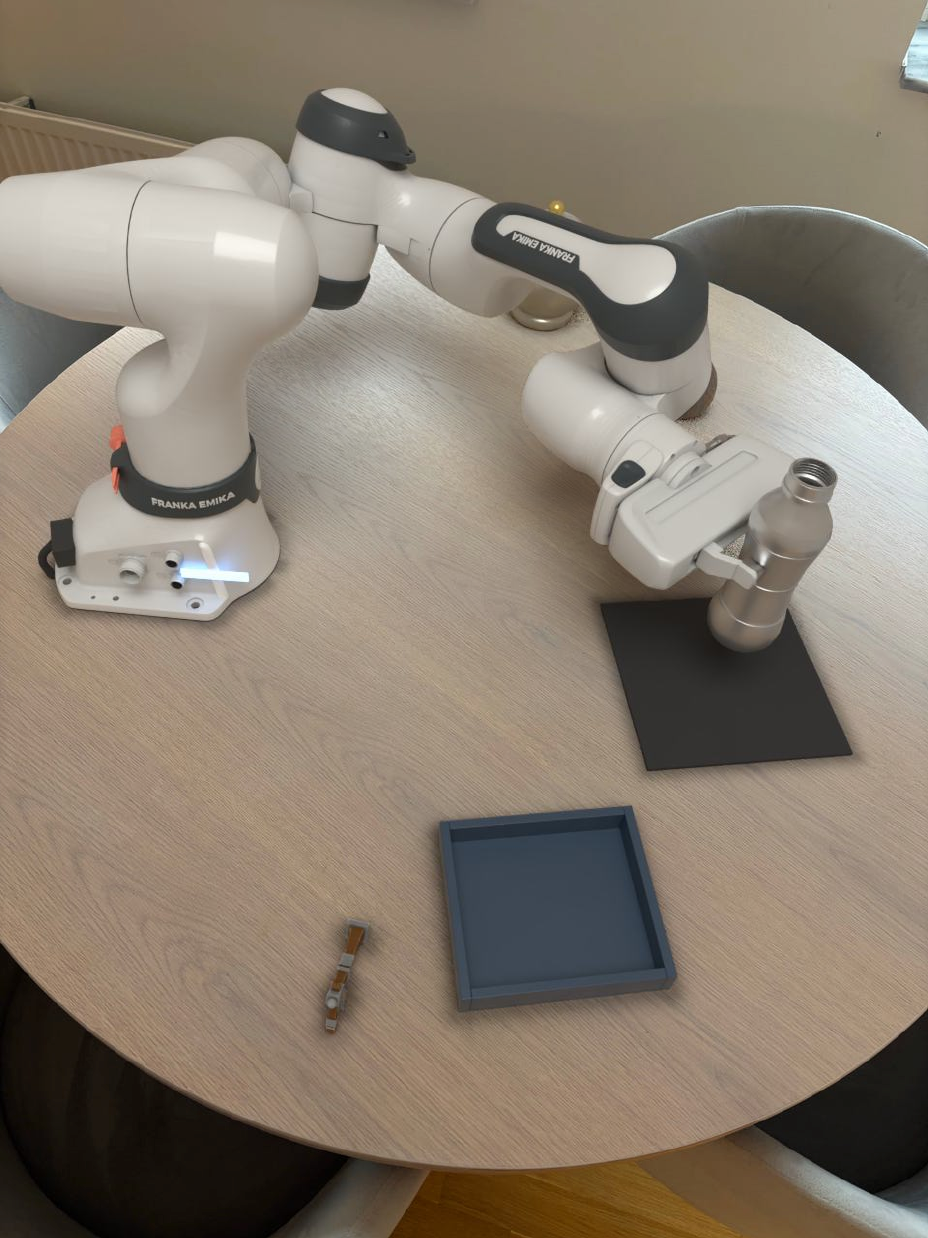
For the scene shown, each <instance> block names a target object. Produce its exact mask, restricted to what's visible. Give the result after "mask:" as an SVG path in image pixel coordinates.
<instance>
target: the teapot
mask: <svg viewBox="0 0 928 1238" xmlns="http://www.w3.org/2000/svg"><path fill="white" fill-rule="evenodd" d="M543 210H546V211H549V212H552V213H555V214H558V215H560V216H563V217H566V218H569V219H571V220H574V221H577V222H580V223H583V224H585V222H584V221H582V220H581V219H580V218H579V217H577V216H576V215H574V214H572V213H570V212H567V211H565V205H564V203H563V202H562V201H560V200H557V199H556V200H552V201H551V203H549V205H548V208H544V209H543ZM579 306H580V305H579V304H578V303H577V302H576V301H574V300H573V299H570V298H568V297H566V296H564V295H561V294H559V293H557V292H554V291H552V290H550V289H547V288H545V287H543V286H541V285H538V284H536V285H535V286H534V288H533V289H532V291H531V292H530V293H529V295H528V296H527V297H526V298H525V299H524V300H523V301H522V302H521V303H520V304H519V305H518V306H517V307H515V308H514V309H512V310H511V311H510V313H511V315H512V317H513V318H514V320H515V321H517V322H518V323H519V324H521V325H522V326H524V327H526V328H529V329H531V330H532V329H533V330H537V331H554V330H558V329H561V328H563V327H565V326H566V325H568V324H569V323H570V321H571V320H572V318H573V316H574V310H575V309H578V307H579Z"/></svg>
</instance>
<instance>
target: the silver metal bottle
mask: <svg viewBox="0 0 928 1238" xmlns="http://www.w3.org/2000/svg"><path fill="white" fill-rule="evenodd" d="M795 459H796V460H795V461H793V462H792V464H791V465H790V467H789V470H788V472H787V473H786V475H785V476H784V478H783V480H782V486H780V487H777V488H775V489H773V490H771V491H769V492H767V493H766V494H764V495H763V496H762V497H761V498H760V499H759V500H758V501H757V502H756V503H755V505H754V506H753V509H752V511H751V514H750V517H749V521H748V526H747V530H746V534H744V539H743V542H742V545H741V548H740V550H739V554H738V557H737V559H739V560H742V561H743V560H745V559H746V558H748V557H749V558H751V559H752V560H754V561H755V563H756V564H759V565H760V566H762V567H763V569H764V574H763V575H762V577H761V580H760V581H759V582H758V583H757V584H755V585H754V586H753V587H751V588H750V589H745V588H743V587H742V586H741V585H739V584H738V583H737V582H735V581H734V580H733V579H727V578H725V581H724V583H723V584H722V585H721V586H720V587H719V588H718V589H717V591H716V592H715V594H714V595H713V596H712V597H713V598H712V600H711V602H710V604H709V609H708V615H707V623H708V626H709V629H710V631H711V633H712V634H713V636H714V637H715V639H716V640H717V641H718V642H720V643H721V644H722V645H723V646H725V647H727V648H729V649H731V650H734V651H738V652H745V653H747V652H755V651H759V650H762V649H764V648H766V647H768V646H769V645H770V644H771V643H772V642H773V641H774V640H775V639H776V638H777V636H778V635H779V633H780V631H781V628H782V625H783V622H784V619H785V614H786V609H787V607H789V604H790V602H791V600H792V596H793V594H794V592H795V589H796V588H797V586H798V585H799V583H800V581H801V580H802V579H803V576H805V574H806V572H807V570H808V569H809V568H810V567H811V565H812V564H813V563H814V562H815V560H816V559H817V558H818V557H819V556H820V555H821V553H822V551H824V549H825V548H826V546H827V545H828V543H830V540H831V539H832V535H833V530H834V519H833V516H832V513H831V512H832V511H831V509H830V506H829V503H830V501H831V500H832V498H833V495H834V490H835V488H836V486H837V484H838V480H839V476H838V473H837V471H836V470H835V468H833V467H832V466H831V465H830V464H829V463H827V462H825V461H823V460H822V459H821V460H820V459H818V458H815V457H807V456H806V457H798V458H795Z"/></svg>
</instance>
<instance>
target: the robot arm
mask: <svg viewBox="0 0 928 1238" xmlns="http://www.w3.org/2000/svg"><path fill="white" fill-rule="evenodd" d="M295 128H296V130H297V131H296V134H295V136H294V137H295V138H294V141H293V144H292V148H291V151H290V152H291V153H290V155H289V159H288V163H287V166H286V164H285V162H284V161H283V159H282V158H281V157H280V155H279V154H278V153H277V152H276V151H274V150H273V148H271V147H270V146H269V145H267V144H266V143H263V142H261V141H259V140H257V139H253V138H250V137H243V136H221V137H216V138H211V139H209V140H205V141H202V142H200V143H198V144H196V145H194V146H192V147H190V148H187V149H186V150H184V151H181V152H179V153H177V154H174V155H173V156H169V157H158V158H148V159H147V158H146V159H137V160H130V161H128V160H127V161H122V162H114V163H108V164H101V165H96V166H91V167H86V168H85V167H84V168H79V169H70V170H61V171H52V172H51V171H49V172H40V173H39V172H38V173H27V174H18V175H11V176H9V177H6V178H5V179H4V180H3V181H2V182H0V288H1V289H2V291H3V292H4V293H5V294H6V295H7V296H8V297H9V298H10V299H12V300H13V301H15V302H17V303H20V304H22V305H25V306H28V307H31V308H34V309H36V310H40V311H41V312H44V313H49V314H52V315H55V316H58V317H62V318H65V319H68V320H71V321H77V322H87V323H93V324H103V325H111V326H119V327H125V328H126V327H127V328H128V327H129V328H136V329H144V330H150V331H153V332H157V333H159V334H161V336H162V337H163V338H161V339H159V340H156V341H155V342H152V343H150V344H148V345H147V346H145V347H143V348H141V349H140V350H139V351H138V352H137V353H135V354H134V355H132V356H131V357H130V358H129V359H128V361H126V362H125V363H124V365H123V366H122V368H121V370H120V372H119V374H118V375H117V376H118V377H117V379H116V384H115V388H114V389H115V390H114V401H115V405H116V408H117V411H118V417H119V419H120V423H121V424H119V425H114V426H113V427H112V429H111V430H110V440H109V442H108V444H109V447H110V448H111V450H113V452H112V453H111V456H110V460H109V466H110V471H111V472H109V473H107V474H106V475H104V476H103V477H101V478H99V479H97V480H95V481H93V482H91V483H90V484H89V485H88V486H87V488H85V490H84V491H83V492H82V495H81V496H80V498H79V500H78V502H77V504H76V508H75V510H74V515H73V516H72V517H68V518H63V519H56V520H50V521H49V526H50V527H49V528H50V540H48V542H47V543H46V544H45V545H44V546H42V548H41V549H40V550H39V552H38V555H37V562H38V565H39V567H40V568H41V570H42V571H43V572H44V573H45V575H46V576H47V577H48V578H49V579H50V578H55V583H56V589H57V591H58V594H59V596H60V599H61V600H62V601H63V603H64V605H66V606H67V607H68V608H70V609H71V608H72V609H76V610H87V611H95V612H106V613H116V614H117V613H118V614H130V615H137V616H138V615H139V616H147V617H150V616H151V617H159V618H169V619H182V620H191V621H202V622H208V621H213V620H215V619H216V618H218V617H220V616H221V615H222V614H223V613H224V612H225V611H226V610H227V608H228V607H229V606H230V605H231V604H232V602H234V601H236V599H238V598H240V597H242V596H244V595H246V594H248V593H250V592H252V591H253V590H255V589H256V588H258V587H259V586H260V585H261V584H262V583H264V582H265V581H266V580H267V578H268V577H270V575H271V574H272V572H273V571H274V570H275V568H276V566H277V564H278V561H279V558H280V553H281V544H280V543H281V542H280V539H279V536H278V533H277V531H276V530H275V527H273V525H272V523H271V521H270V518H269V516H268V514H267V512H266V509H265V506H264V501H263V499H262V496H261V489H262V477H261V476H262V475H261V467H260V460H259V459H260V458H259V453H258V451H257V447H256V443H255V439H254V437H253V435H252V433H251V431H250V428H249V419H248V404H247V402H248V400H247V399H248V398H247V383H248V378H249V375H250V372H251V369H252V367H253V365H254V363H255V362H256V360H257V359H258V357H259V356H260V355H261V354H262V353H263V352H264V351H265V350H266V349H267V348H269V346H271V345H272V344H273V343H275V342H277V341H279V340H280V339H282V338H284V337H286V336H289V335H290V334H291V333H292V332H293V331H295V330H296V329H297V328H298V327H299V326H300V324H302V322H303V321H304V320H305V318H306V317H307V316H308V313H309V312H310V310H311V309H312V308H313V309H317V310H326V311H344V310H347V309H349V308H351V307H354V306H355V305H357V304H358V303H359V302H360V301H361V299H362V297H363V296H364V293H365V292H366V290H367V288H368V285H369V283H370V280H371V273H370V271H371V268H372V266H373V263H374V261H375V257H376V255H377V252H378V248H379V245H383V246H384V248H385V250H386V251H387V253H388V254H389V256H390V257H391V258H392V259H393V260H394V261H395V262H396V263H397V264H398V266H400V267H401V268H402V269H403V270H404V271H405V272H407V273H408V274H409V275H410V276H411V277H412V278H413V279H415V280H416V281H418V283H420V284H421V285H422V286H423V287H425V288H426V289H428V290H429V291H431V292H432V293H434V294H435V295H437V296H438V297H440V298H441V299H443V300H444V301H447V302H448V303H450V304H451V305H453V306H454V307H456V308H458V309H460V310H462V311H465V312H466V313H470V314H472V315H475V316H479V317H483V318H486V319H491V318H496V317H499V316H503V315H505V314H508V313H509V312H511V310H512V309H514V308H515V307H517V306H518V305H519V304H520V303H521V302H522V301H523V300H524V299H525V298H526V297H527V296H528V295H529V293H530V292H531V291H532V289H533V288H534V286H535V285H536V284H538V285H541V286H543V287H545V288H547V289H550V290H552V291H554V292H557V293H559V294H561V295H564V296H566V297H568V298H570V299H573V300H574V301H576V302H577V303H578V304H579V306H580V307H581V308H582V309H583V310H584V312H585V313H586V315H587V317H588V318H589V320H590V322H591V324H592V325H593V327H594V330H595V332H596V333H597V336H598V339H599V341H598V342H595V343H593V344H590V345H587V346H585V347H581V348H578V349H574V350H571V351H570V350H569V351H550V352H548V353H546V354H544V355H543V356H542V357H540V359H538V361H537V362H536V363H535V364H534V365H533V367H532V368H531V370H530V372H529V373H528V375H527V377H526V380H525V382H524V384H523V387H522V388H523V389H522V393H521V398H520V409H521V415H522V418H523V421H524V424H525V426H526V427H527V429H528V431H530V433H531V434H532V435H533V436H534V437H535V438H536V439H537V440H538V441H539V442H540V443H541V444H542V445H543V446H544V447H545V448H546V449H547V450H549V451H550V452H551V453H552V454H553V455H555V457H557V458H558V459H559V460H560V461H562V462H563V463H564V464H566V465H567V466H568V467H570V468H571V469H572V470H574V471H576V472H579V473H581V474H585V475H586V476H588V477H590V478H591V479H592V480H593V481H594V482H595V483H596V485H597V487H598V488H599V493H598V495H597V498H596V502H595V505H594V508H593V513H592V518H591V522H590V528H589V529H590V530H589V536H590V537H591V539H592V540H593V541H594V542H596V543H597V544H599V545H600V546H601V545H602V546H608V552H609V553H610V555H611V556H612V558H613V559H614V560H615V561H616V562H617V563H618V564H619V565H620V566H621V567H622V568H624V569H625V570H626V571H627V572H628V573H629V574H630V575H631V576H633V577H634V578H635V579H636V580H638V581H639V582H640V583H641V584H643V585H645V586H646V587H648V588H651V589H655V590H661V591H665V590H668V589H670V588H671V587H672V586H673V585H675V584H676V583H678V582H680V581H681V580H682V579H684V578H685V577H686V576H688V575H689V574H691V573H692V572H694V571H695V570H696V569H697V568H698V569H700V570H701V571H702V572H703V573H705V574H707V575H709V576H713V577H719V578H721V579H722V578H723V579H733V580H734V581H735V582H737V583H738V584H739V585H741V586H742V587H743V588H745V589H750V588H751V587H753V586H754V585H755V584H757V583H758V582H759V581H760V580H761V577H762V575H763V574H764V569H763V567H762V566H760V565H759V564H756V563H755V561H754V560H752V559H751V558H749V557H748V558H746V559H745V560H743V561H742V560H739V559H738V558H736V557H733V556H730V555H727V554H724V550H725V549H726V548H727V547H729V546H730V545H732V544H733V543H734V542H736V541H738V540H739V539H740V538H742V537H743V536H745V534H746V530H747V526H748V521H749V517H750V514H751V511H752V509H753V506H754V505H755V503H756V502H757V501H758V500H759V499H760V498H761V497H762V496H763V495H764V494H766V493H767V492H769V491H771V490H773V489H775V488H777V487H780V486H782V480H783V478H784V476H785V475H786V473H787V472H788V470H789V467H790V465H791V464H792V462H793V461H795V460H796V459H797V458H794V457H793V456H792V455H790V454H788V453H787V452H785V451H782V450H781V449H778V448H777V447H775V446H773V445H772V444H769V443H767V442H766V441H763V440H760V439H759V438H756V437H753V436H750V435H745V434H728V435H727V434H726V433H722V434H719V435H717V436H715V437H714V438H712V439H711V441H708V442H706V443H705V442H704V440H702V439H701V438H699V437H698V436H696V435H695V434H694V433H692V432H691V431H690V430H688V429H686V428H685V427H684V426H682V425H680V424H679V423H678V422H677V421H678V420H680V419H682V418H681V417H682V416H683V415H684V414H686V413H687V412H688V411H689V410H690V409H691V408H693V407H694V406H695V405H696V404H697V403H698V402H699V401H700V400H701V398H702V397H703V396H704V394H705V392H706V391H707V389H708V387H709V384H710V380H711V374H712V363H713V361H712V352H711V351H712V350H711V346H712V345H711V335H710V325H709V317H708V316H709V296H710V294H709V293H710V283H709V278H708V274H707V271H706V269H705V267H704V265H703V263H702V261H700V259H699V258H698V257H697V256H696V255H695V254H694V253H693V252H692V251H690V250H689V249H687V248H686V247H683V246H682V245H680V244H677V243H674V242H671V241H667V240H663V239H662V240H661V239H655V238H645V237H643V238H642V237H632V236H631V237H630V236H624V235H620V234H614V233H611V232H608V231H605V230H602V229H599V228H597V227H594V226H591V225H588V224H586V223H584V222H583V223H584V224H583V223H580V222H577V221H574V220H571V219H569V218H566V217H563V216H560V215H558V214H555V213H552V212H549V211H546V210H544V209H543V208H540V207H538V206H537V207H536V206H534V205H530V204H526V203H522V202H514V201H504V202H500V203H497V202H495V201H493V200H492V199H490V198H488V197H485V196H483V195H481V194H479V193H477V192H475V191H474V192H473V191H472V190H469V189H467V188H465V187H462V186H460V185H457V184H456V185H455V184H454V183H450V182H446V181H442V180H438V179H434V178H429V177H423V176H417V175H415V174H413V173H411V172H410V170H408V165H413V164H415V163H416V162H417V156H416V152H415V150H414V149H413V148H411V147H410V146H408V143H407V140H406V136H405V134H404V130H403V129H402V127H401V125H400V124H399V122H398V119H397V118H396V117H395V115H393V113H392V111H390V109H389V108H387V107H385V106H383V105H382V104H381V103H380V102H379V101H377V100H376V99H375V98H374V97H372V96H370V95H368V94H367V93H366V92H363V91H360V90H358V89H353V88H349V87H333V88H319V89H317V90H315V91H313V92H311V93H309V94H308V95H307V96H306V98H305V100H304V102H303V104H302V106H301V108H300V111H299V114H298V116H297V119H296V123H295ZM711 361H712V362H711ZM50 553H51V554H52V555H53V559H54V561H55V562H54V565H55V566H54V568H53V567H52V565H51V564H50V563H49V562H48V557H49V555H50Z"/></svg>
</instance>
